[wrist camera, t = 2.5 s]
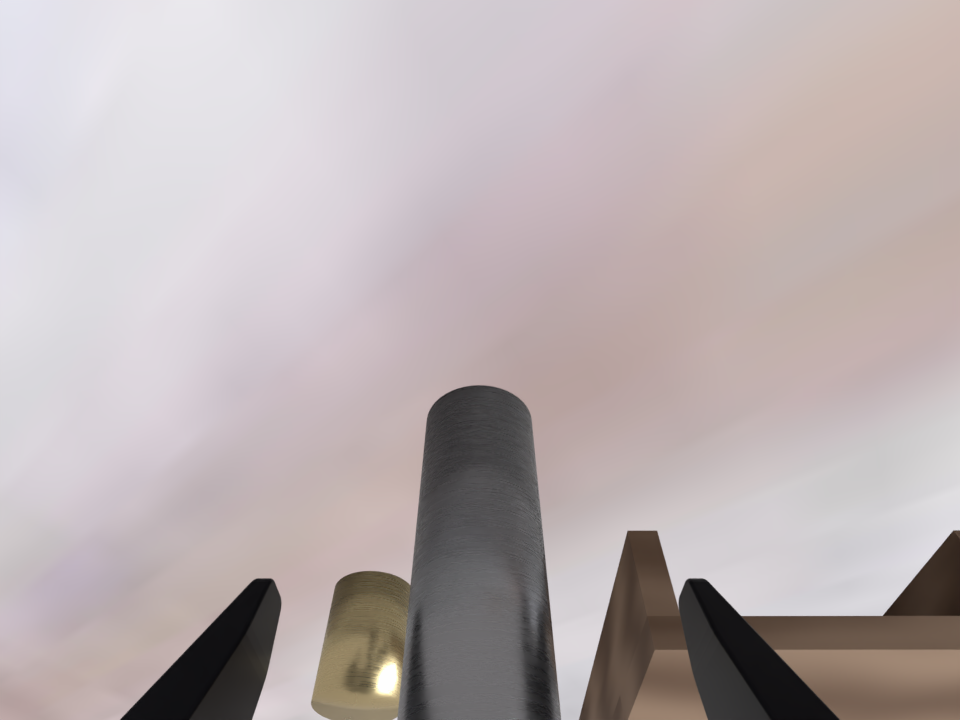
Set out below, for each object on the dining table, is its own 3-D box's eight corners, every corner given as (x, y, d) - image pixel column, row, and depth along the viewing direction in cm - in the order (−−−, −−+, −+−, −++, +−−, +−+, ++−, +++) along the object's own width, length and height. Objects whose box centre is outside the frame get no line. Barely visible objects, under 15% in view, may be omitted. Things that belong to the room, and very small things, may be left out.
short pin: (328, 570, 22) (303, 686, 18) (410, 570, 22) (399, 686, 18) (340, 613, 23) (319, 724, 20) (416, 613, 23) (406, 724, 20)
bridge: (627, 530, 20) (654, 649, 17) (983, 530, 20) (1076, 649, 17) (578, 720, 30) (590, 817, 27) (815, 720, 30) (854, 817, 27)
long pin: (423, 385, 16) (370, 863, 8) (534, 384, 16) (588, 863, 8) (429, 460, 18) (390, 907, 10) (529, 460, 18) (568, 907, 10)
